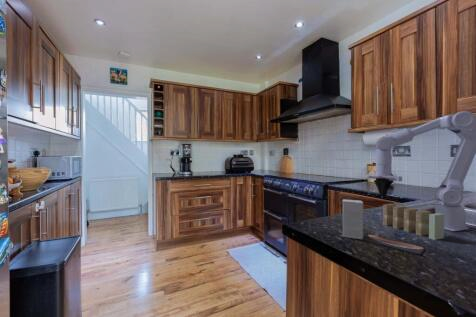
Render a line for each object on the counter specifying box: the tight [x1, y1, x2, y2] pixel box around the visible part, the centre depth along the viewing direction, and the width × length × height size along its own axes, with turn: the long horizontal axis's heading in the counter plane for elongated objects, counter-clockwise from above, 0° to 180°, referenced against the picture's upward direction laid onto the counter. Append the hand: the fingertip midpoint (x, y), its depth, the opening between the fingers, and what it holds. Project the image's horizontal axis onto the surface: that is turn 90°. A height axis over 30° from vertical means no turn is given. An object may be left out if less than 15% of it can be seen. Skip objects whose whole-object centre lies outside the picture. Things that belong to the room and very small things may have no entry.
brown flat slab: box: [361, 234, 426, 256], centre depth 68 cm, size 8×1×15 cm
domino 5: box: [428, 213, 445, 241], centre depth 74 cm, size 2×5×8 cm, turn 110°
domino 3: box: [403, 207, 419, 233], centre depth 81 cm, size 2×5×8 cm, turn 110°
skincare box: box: [342, 199, 364, 240], centre depth 74 cm, size 6×4×12 cm
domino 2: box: [392, 205, 407, 230], centre depth 85 cm, size 2×5×8 cm, turn 110°
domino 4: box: [415, 210, 432, 237], centre depth 77 cm, size 2×5×8 cm, turn 110°
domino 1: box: [382, 203, 397, 227], centre depth 89 cm, size 2×5×8 cm, turn 110°
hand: (382, 196), depth 96 cm, fingers closed
